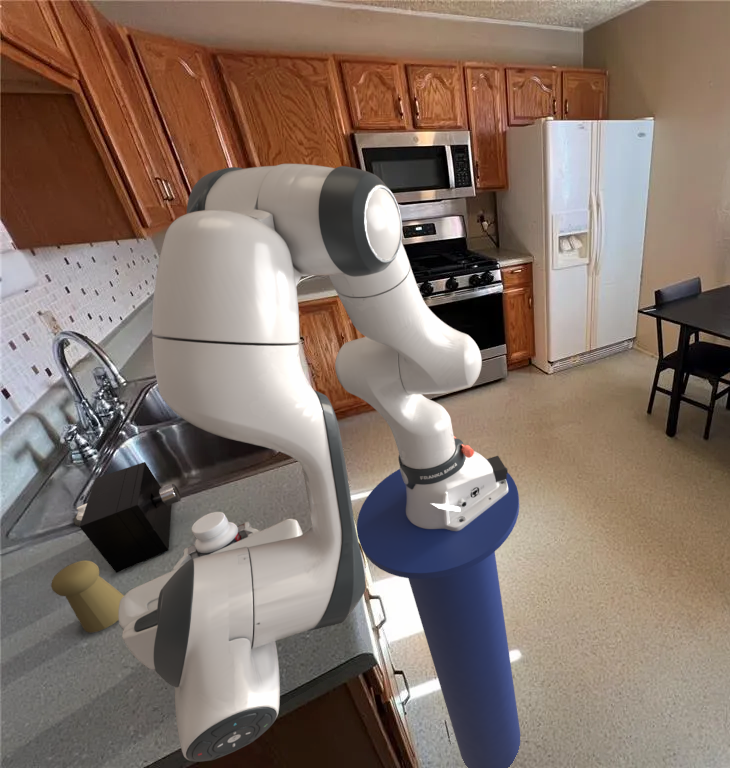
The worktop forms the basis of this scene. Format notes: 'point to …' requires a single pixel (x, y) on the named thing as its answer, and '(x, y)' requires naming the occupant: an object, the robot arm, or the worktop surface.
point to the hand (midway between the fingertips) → (219, 537)
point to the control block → (127, 517)
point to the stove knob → (79, 514)
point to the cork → (88, 595)
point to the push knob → (167, 495)
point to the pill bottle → (214, 533)
